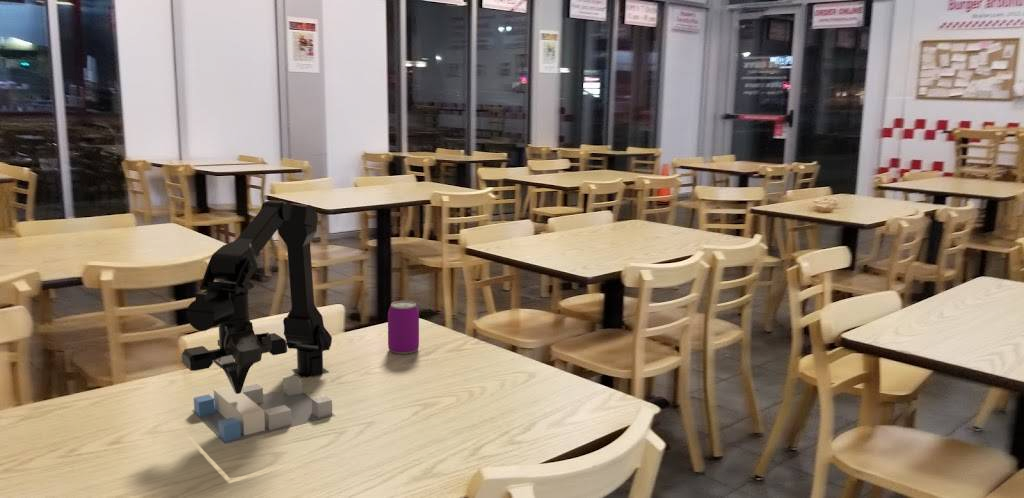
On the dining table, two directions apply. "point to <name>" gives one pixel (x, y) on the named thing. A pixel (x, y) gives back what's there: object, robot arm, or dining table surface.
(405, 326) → the beverage can
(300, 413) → the miniature block city
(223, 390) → the long white plank
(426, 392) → the dining table surface
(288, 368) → the dining table surface
